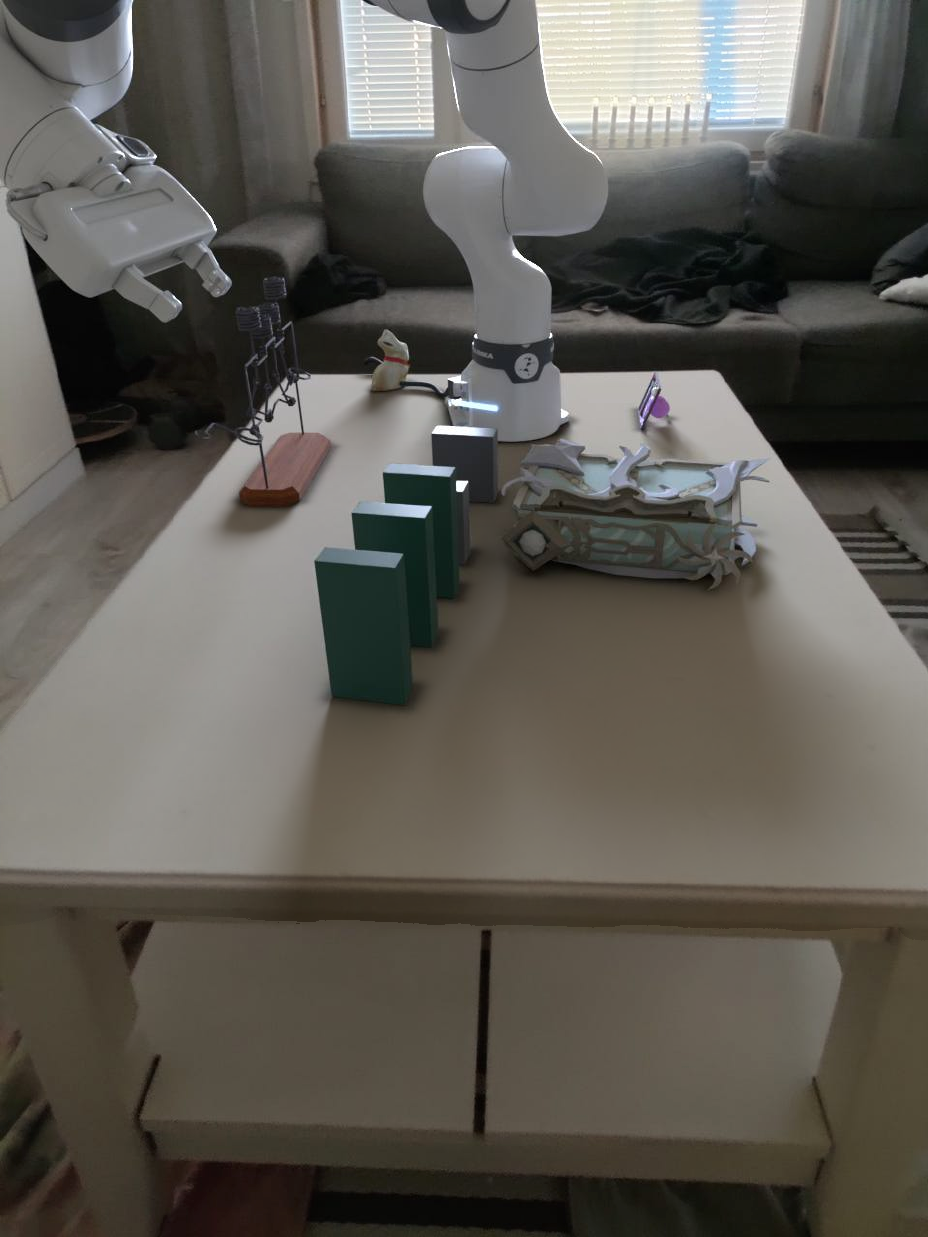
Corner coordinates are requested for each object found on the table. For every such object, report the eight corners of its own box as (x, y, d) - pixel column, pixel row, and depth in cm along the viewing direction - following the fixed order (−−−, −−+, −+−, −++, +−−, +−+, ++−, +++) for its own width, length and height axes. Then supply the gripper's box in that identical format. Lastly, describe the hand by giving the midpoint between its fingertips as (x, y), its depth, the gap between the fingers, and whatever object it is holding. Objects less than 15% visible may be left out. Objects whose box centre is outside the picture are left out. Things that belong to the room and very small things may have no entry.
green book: (372, 626, 90) (360, 500, 83) (438, 633, 89) (432, 506, 82) (364, 640, 88) (351, 512, 81) (432, 647, 87) (425, 518, 79)
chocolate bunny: (416, 387, 158) (413, 329, 152) (373, 392, 156) (368, 334, 150) (408, 378, 162) (404, 322, 157) (366, 383, 160) (361, 327, 155)
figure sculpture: (283, 434, 139) (259, 265, 126) (337, 434, 138) (319, 265, 125) (211, 535, 109) (170, 328, 96) (279, 536, 108) (248, 328, 95)
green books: (398, 581, 98) (389, 462, 91) (459, 586, 97) (456, 466, 89) (331, 696, 80) (313, 560, 73) (405, 705, 79) (395, 568, 72)
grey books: (439, 489, 119) (436, 425, 115) (497, 493, 118) (497, 428, 113) (397, 558, 103) (392, 486, 98) (464, 564, 101) (462, 491, 96)
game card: (650, 369, 141) (654, 386, 133) (681, 380, 141) (686, 398, 134) (633, 407, 144) (636, 427, 137) (662, 418, 145) (667, 438, 137)
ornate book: (492, 582, 99) (772, 601, 92) (488, 503, 94) (784, 517, 87) (527, 500, 118) (763, 510, 111) (526, 430, 113) (773, 436, 106)
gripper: (9, 160, 64) (159, 303, 67) (153, 139, 81) (267, 255, 84) (-25, 226, 67) (120, 360, 71) (120, 193, 84) (232, 302, 87)
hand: (201, 302), depth 78 cm, fingers open, 8 cm apart
